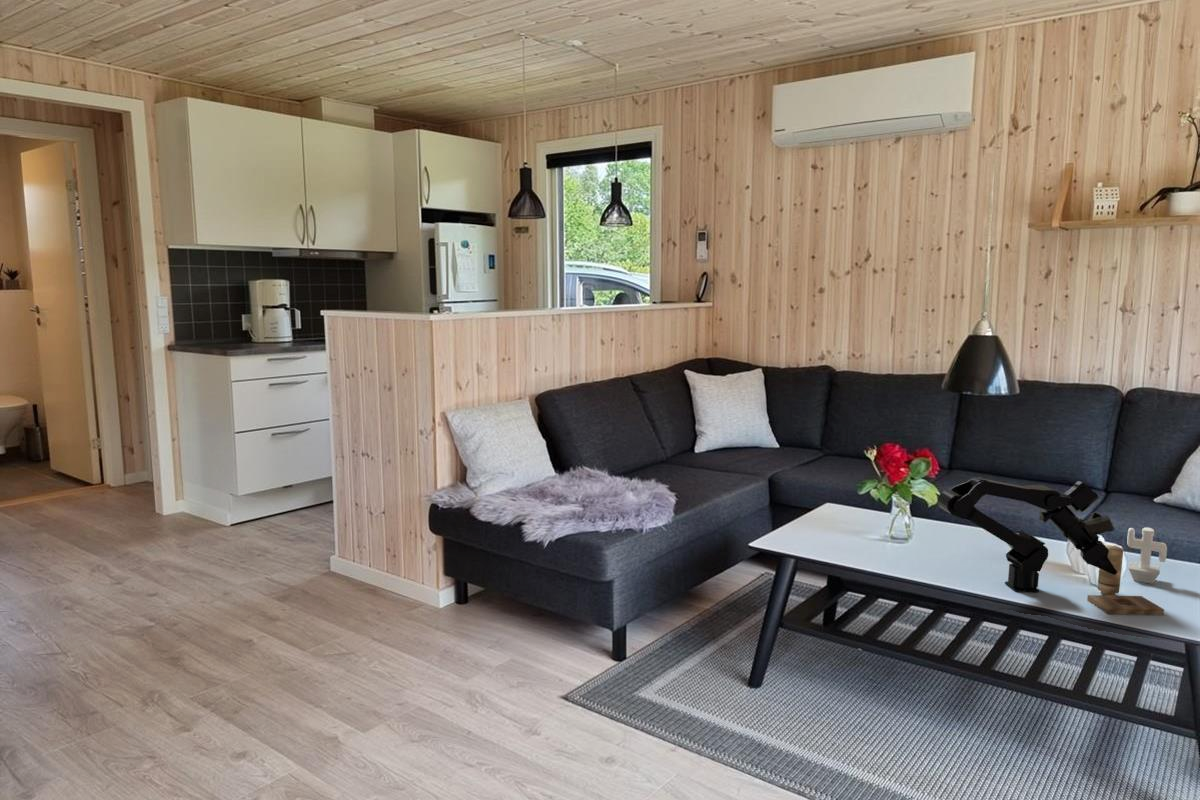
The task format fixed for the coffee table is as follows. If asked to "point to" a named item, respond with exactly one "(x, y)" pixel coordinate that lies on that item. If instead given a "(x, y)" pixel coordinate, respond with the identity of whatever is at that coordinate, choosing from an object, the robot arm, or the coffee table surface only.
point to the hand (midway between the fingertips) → (1111, 568)
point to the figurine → (1145, 555)
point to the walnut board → (1125, 605)
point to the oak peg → (1106, 580)
